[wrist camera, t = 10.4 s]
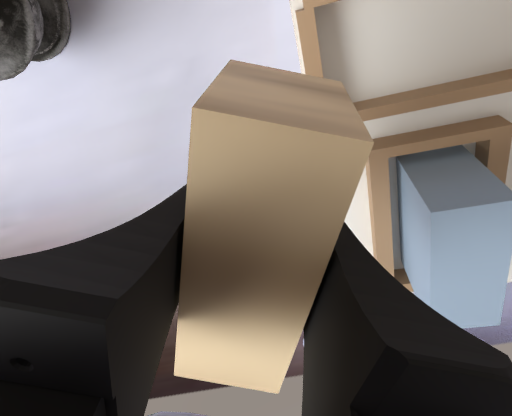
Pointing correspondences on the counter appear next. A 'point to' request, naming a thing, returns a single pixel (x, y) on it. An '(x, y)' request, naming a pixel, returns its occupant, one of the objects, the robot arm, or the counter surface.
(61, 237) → the counter surface
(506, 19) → the jig
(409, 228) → the light blue block
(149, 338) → the robot arm
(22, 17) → the salt shaker
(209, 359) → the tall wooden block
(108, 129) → the counter surface
